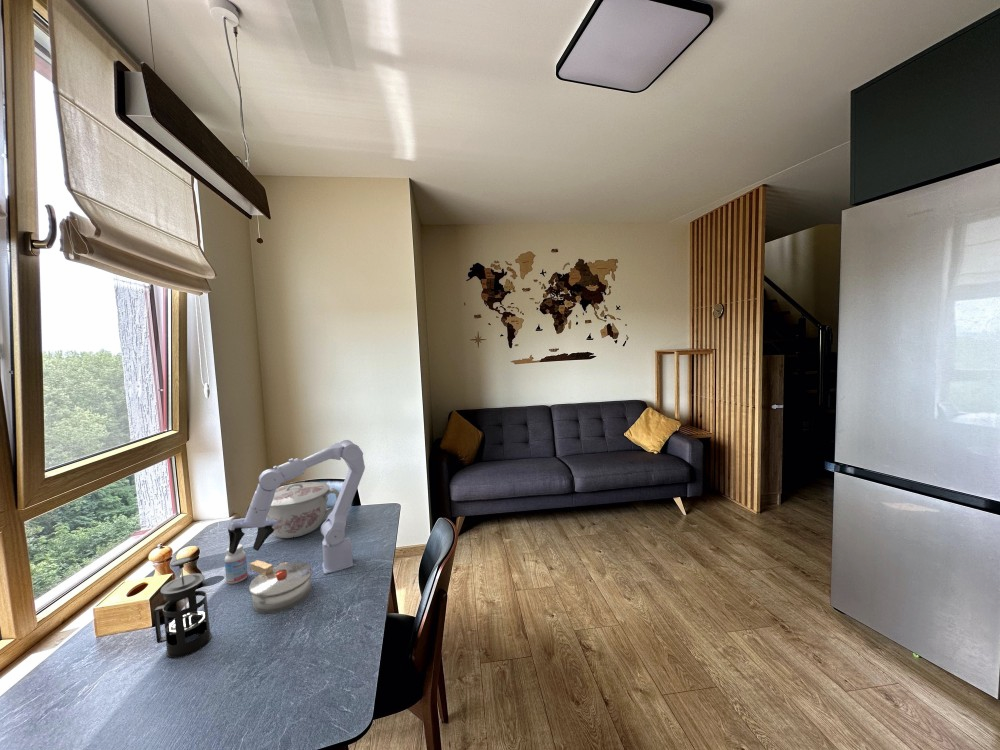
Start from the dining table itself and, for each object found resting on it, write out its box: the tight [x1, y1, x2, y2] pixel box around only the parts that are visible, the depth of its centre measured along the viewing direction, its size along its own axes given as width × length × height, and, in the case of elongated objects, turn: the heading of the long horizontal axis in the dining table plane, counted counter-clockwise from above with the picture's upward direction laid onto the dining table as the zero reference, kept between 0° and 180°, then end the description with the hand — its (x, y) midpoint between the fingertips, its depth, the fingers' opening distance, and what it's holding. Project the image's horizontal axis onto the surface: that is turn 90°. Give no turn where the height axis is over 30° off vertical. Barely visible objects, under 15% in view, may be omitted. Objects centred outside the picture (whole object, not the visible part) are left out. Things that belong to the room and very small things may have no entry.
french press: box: [153, 556, 212, 659], centre depth 102 cm, size 12×9×23 cm
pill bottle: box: [224, 543, 249, 585], centre depth 133 cm, size 6×6×11 cm
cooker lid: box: [248, 559, 313, 597], centre depth 123 cm, size 22×17×3 cm
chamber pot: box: [266, 481, 340, 539], centre depth 168 cm, size 28×28×21 cm
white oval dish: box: [251, 561, 313, 615], centre depth 125 cm, size 16×22×5 cm
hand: (244, 551), depth 123 cm, fingers open, 7 cm apart
